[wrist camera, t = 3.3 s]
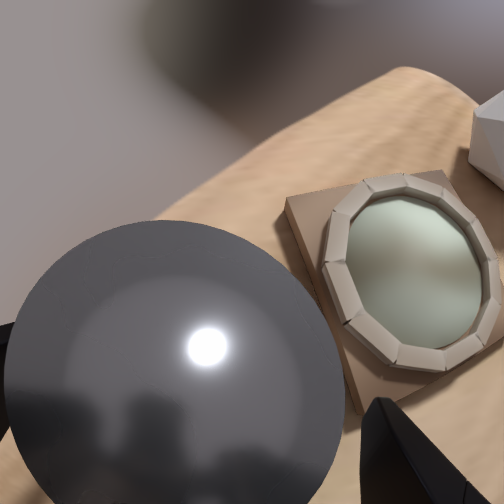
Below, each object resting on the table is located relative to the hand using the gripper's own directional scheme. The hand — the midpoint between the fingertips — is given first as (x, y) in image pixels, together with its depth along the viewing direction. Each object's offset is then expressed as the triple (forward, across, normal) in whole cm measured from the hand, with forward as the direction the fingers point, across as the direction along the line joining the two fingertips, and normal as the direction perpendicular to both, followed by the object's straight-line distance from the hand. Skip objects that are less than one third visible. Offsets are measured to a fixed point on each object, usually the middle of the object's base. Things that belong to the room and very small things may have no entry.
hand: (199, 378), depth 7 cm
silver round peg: (+5, 0, +6) cm, 7 cm away
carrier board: (+11, -9, 0) cm, 14 cm away
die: (+19, -19, -8) cm, 28 cm away
